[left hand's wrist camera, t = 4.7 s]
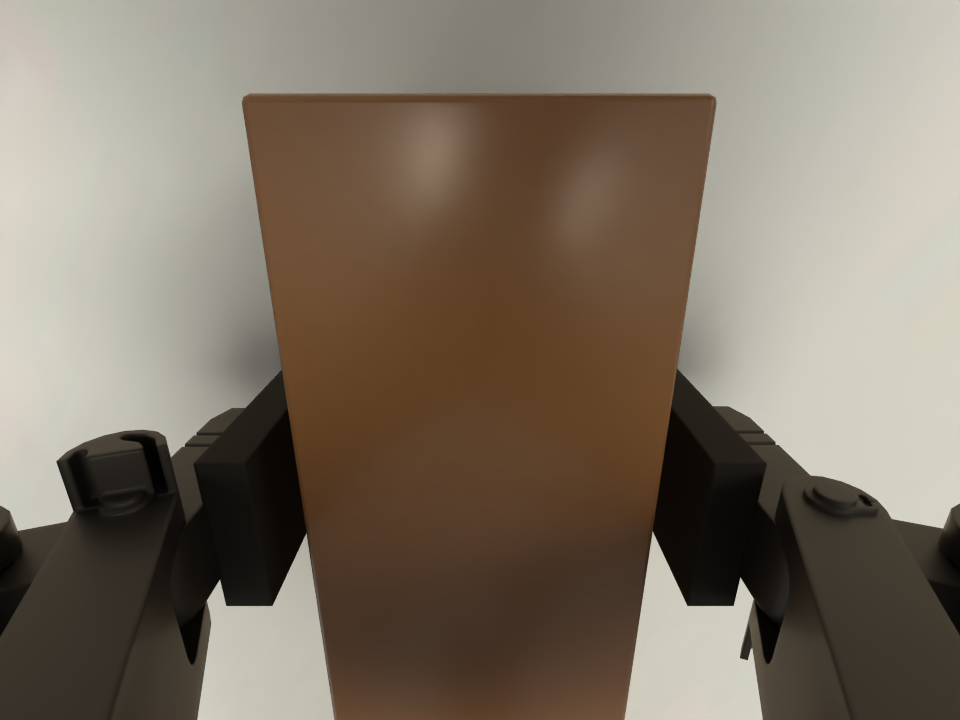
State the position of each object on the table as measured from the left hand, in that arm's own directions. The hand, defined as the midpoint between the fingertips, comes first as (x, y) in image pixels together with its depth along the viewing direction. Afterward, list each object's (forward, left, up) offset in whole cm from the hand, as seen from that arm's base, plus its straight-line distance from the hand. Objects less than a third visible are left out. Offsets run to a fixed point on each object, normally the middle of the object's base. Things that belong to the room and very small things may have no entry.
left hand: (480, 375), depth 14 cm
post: (+20, 0, -1) cm, 20 cm away
